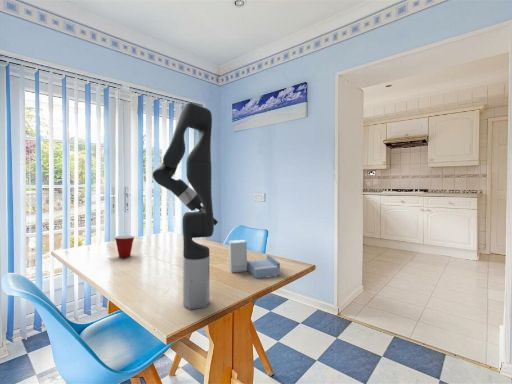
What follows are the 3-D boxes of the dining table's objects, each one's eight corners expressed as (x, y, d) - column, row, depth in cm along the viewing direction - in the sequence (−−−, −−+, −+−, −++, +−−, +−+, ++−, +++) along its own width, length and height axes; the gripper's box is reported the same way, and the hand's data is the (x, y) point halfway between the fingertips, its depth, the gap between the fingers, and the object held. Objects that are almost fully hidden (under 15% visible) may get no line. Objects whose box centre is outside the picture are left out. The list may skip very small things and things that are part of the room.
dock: (279, 275, 125) (279, 263, 125) (255, 278, 121) (255, 265, 121) (269, 266, 138) (269, 255, 138) (246, 268, 134) (246, 257, 134)
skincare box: (244, 267, 136) (245, 239, 135) (247, 271, 130) (247, 241, 129) (228, 269, 134) (228, 239, 133) (230, 273, 128) (230, 242, 127)
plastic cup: (138, 254, 159) (138, 234, 158) (128, 259, 148) (128, 238, 148) (121, 253, 160) (121, 233, 160) (110, 258, 149) (109, 237, 149)
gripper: (197, 193, 117) (223, 218, 121) (194, 192, 131) (218, 214, 135) (185, 206, 116) (211, 230, 120) (183, 203, 129) (207, 225, 133)
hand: (214, 222), depth 127 cm, fingers open, 8 cm apart
